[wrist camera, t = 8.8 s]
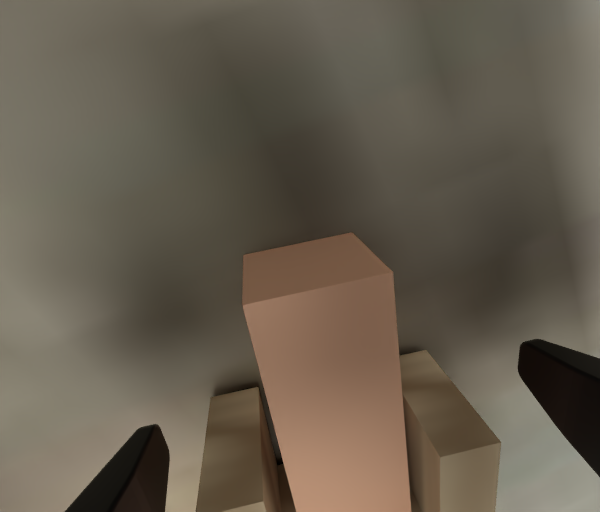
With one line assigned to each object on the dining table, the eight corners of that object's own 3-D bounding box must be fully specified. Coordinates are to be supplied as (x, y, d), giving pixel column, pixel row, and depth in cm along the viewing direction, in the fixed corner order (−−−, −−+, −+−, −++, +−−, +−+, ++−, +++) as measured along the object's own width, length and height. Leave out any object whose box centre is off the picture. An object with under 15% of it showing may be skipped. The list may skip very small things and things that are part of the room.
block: (246, 512, 16) (246, 649, 12) (210, 397, 14) (195, 518, 10) (428, 467, 17) (488, 580, 13) (426, 349, 15) (501, 442, 10)
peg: (350, 230, 13) (393, 272, 9) (374, 429, 16) (411, 517, 13) (243, 252, 13) (242, 305, 9) (291, 450, 16) (305, 547, 12)
